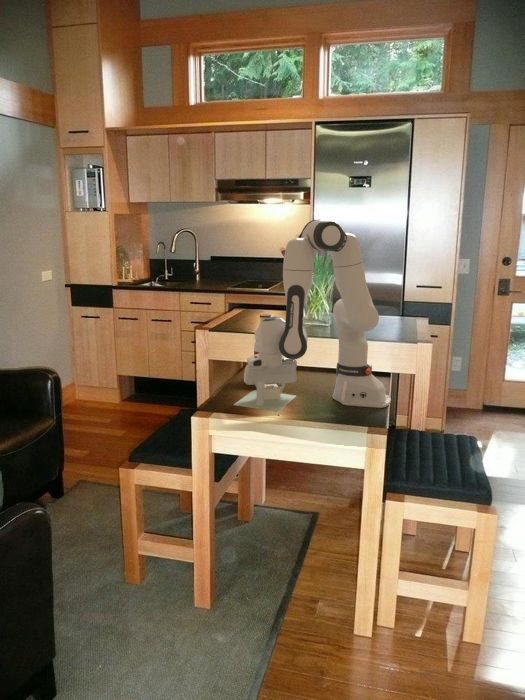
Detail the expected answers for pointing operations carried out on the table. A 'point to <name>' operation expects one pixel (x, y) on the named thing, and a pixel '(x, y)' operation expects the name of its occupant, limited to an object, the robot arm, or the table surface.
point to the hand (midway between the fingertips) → (270, 394)
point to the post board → (258, 402)
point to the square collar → (271, 392)
